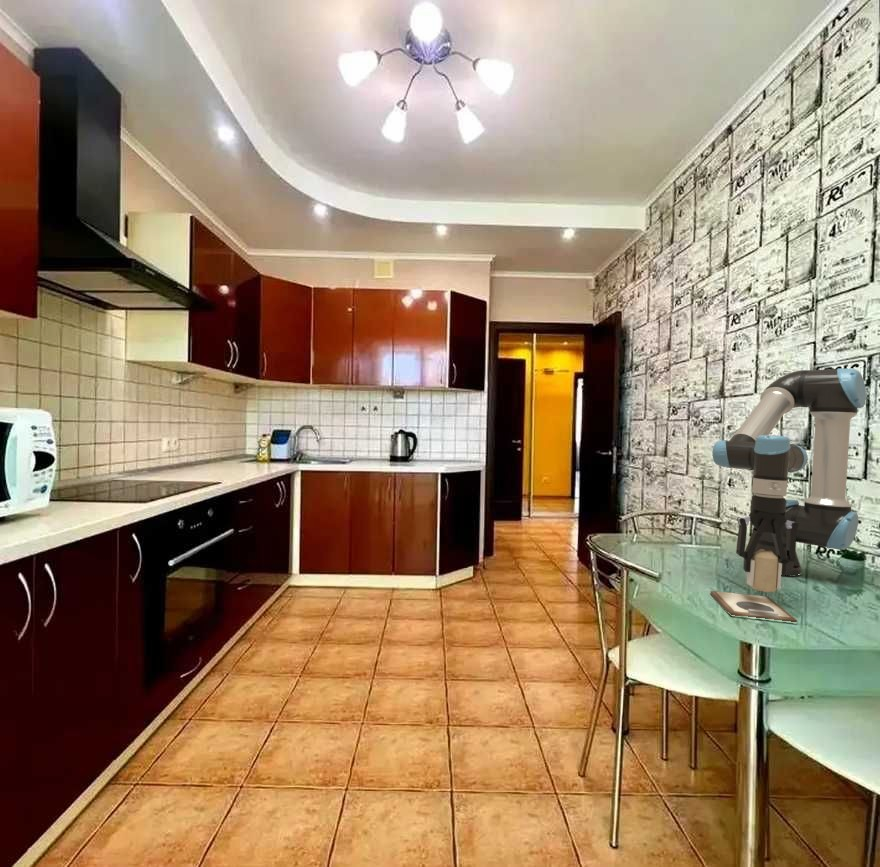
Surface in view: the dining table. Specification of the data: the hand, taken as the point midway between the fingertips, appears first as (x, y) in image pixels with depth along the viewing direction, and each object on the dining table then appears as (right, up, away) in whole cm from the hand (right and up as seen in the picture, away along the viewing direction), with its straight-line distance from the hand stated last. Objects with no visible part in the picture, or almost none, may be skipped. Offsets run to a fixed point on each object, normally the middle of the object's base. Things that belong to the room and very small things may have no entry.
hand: (763, 586), depth 138 cm
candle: (0, -1, 0) cm, 1 cm away
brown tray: (-5, -5, -3) cm, 7 cm away
